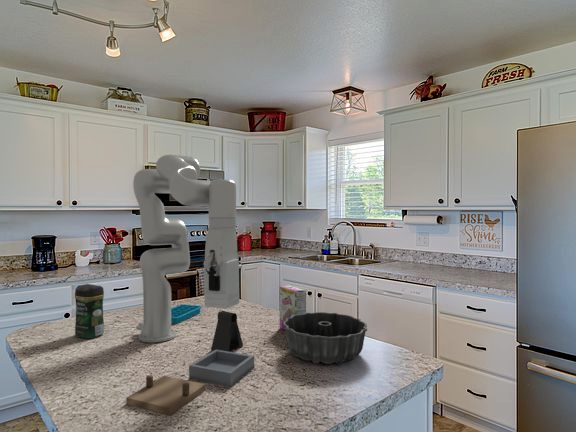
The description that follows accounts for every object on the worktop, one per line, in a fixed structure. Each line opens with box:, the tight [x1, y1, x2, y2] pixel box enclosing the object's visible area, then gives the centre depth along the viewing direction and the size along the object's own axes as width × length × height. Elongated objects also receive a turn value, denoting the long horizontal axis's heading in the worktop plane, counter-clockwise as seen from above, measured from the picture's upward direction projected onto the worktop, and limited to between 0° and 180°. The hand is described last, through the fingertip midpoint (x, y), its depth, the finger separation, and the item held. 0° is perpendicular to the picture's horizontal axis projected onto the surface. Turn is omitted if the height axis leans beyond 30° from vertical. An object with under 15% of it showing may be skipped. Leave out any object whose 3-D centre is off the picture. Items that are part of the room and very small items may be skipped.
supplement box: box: [203, 259, 240, 310], centre depth 107 cm, size 7×7×13 cm
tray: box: [188, 350, 255, 388], centre depth 107 cm, size 13×13×4 cm
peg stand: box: [125, 374, 206, 416], centre depth 94 cm, size 13×13×4 cm
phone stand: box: [210, 310, 244, 352], centre depth 127 cm, size 9×6×12 cm, turn 145°
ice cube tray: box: [171, 303, 203, 324], centre depth 165 cm, size 12×20×3 cm, turn 162°
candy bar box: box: [278, 285, 307, 331], centre depth 145 cm, size 11×5×16 cm, turn 35°
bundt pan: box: [283, 311, 368, 365], centre depth 122 cm, size 26×26×10 cm
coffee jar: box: [74, 283, 105, 340], centre depth 140 cm, size 10×8×19 cm
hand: (222, 287), depth 107 cm, fingers closed on supplement box, 7 cm apart
